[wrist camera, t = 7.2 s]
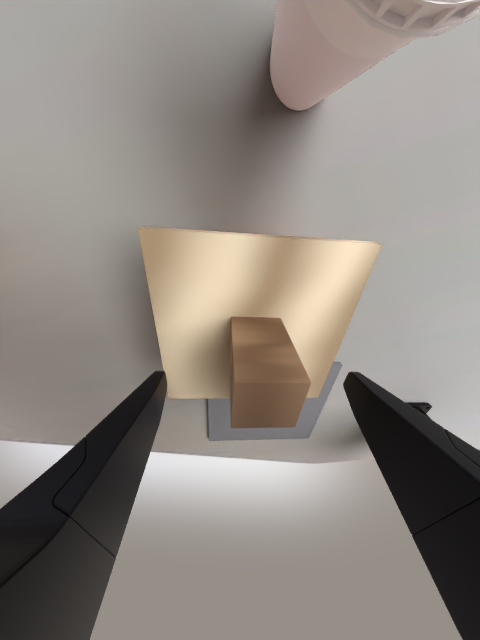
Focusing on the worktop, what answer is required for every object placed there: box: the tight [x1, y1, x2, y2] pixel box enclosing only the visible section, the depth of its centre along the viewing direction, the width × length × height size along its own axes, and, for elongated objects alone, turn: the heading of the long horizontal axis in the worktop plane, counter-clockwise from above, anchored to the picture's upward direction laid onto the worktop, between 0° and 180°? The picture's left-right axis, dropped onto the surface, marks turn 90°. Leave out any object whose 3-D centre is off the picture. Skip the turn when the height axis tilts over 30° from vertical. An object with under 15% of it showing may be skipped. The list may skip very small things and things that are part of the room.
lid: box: [138, 227, 382, 429], centre depth 11 cm, size 12×12×6 cm
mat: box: [208, 362, 342, 441], centre depth 25 cm, size 15×15×1 cm
